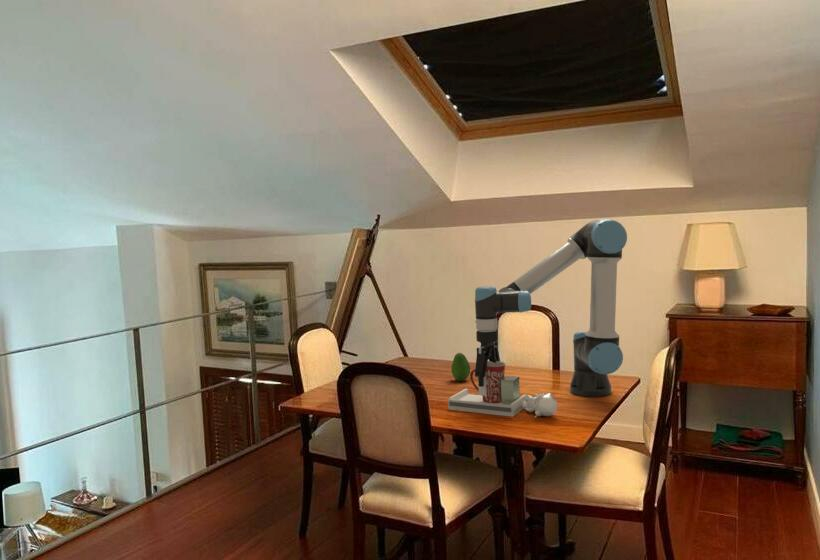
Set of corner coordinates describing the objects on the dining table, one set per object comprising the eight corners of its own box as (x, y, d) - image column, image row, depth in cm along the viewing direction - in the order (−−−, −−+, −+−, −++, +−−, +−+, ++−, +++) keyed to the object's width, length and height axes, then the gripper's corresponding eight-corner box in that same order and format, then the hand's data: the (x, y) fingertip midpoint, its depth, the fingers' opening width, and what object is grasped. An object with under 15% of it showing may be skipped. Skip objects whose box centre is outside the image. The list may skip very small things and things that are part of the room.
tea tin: (520, 402, 216) (519, 376, 215) (514, 406, 211) (513, 380, 210) (507, 401, 218) (507, 375, 218) (501, 405, 213) (500, 379, 212)
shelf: (527, 405, 219) (527, 394, 219) (512, 416, 206) (512, 405, 206) (465, 399, 231) (465, 388, 231) (448, 409, 218) (447, 398, 218)
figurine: (529, 384, 216) (552, 385, 202) (543, 398, 217) (568, 399, 203) (512, 409, 213) (535, 411, 199) (528, 422, 214) (551, 425, 200)
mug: (503, 396, 224) (502, 360, 223) (508, 403, 215) (507, 365, 214) (468, 398, 224) (467, 361, 223) (472, 405, 215) (471, 367, 214)
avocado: (450, 382, 257) (449, 354, 256) (452, 378, 265) (451, 351, 264) (470, 382, 256) (468, 354, 255) (471, 378, 264) (470, 350, 263)
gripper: (489, 325, 230) (491, 382, 231) (463, 335, 210) (465, 398, 211) (508, 325, 226) (510, 384, 228) (483, 335, 206) (486, 400, 207)
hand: (489, 391), depth 219 cm, fingers open, 11 cm apart
